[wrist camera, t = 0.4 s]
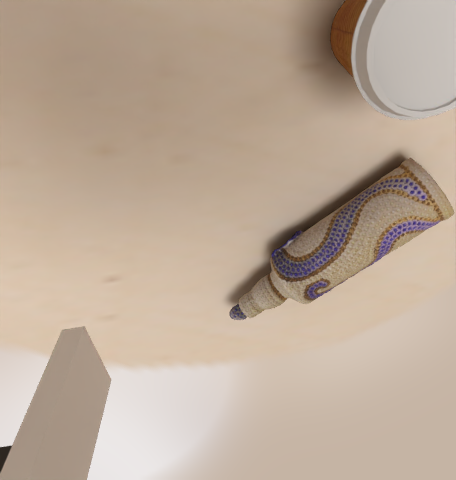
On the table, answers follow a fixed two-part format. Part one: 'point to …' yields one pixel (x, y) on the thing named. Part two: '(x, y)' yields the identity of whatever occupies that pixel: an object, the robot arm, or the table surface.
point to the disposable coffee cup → (399, 54)
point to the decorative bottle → (349, 239)
